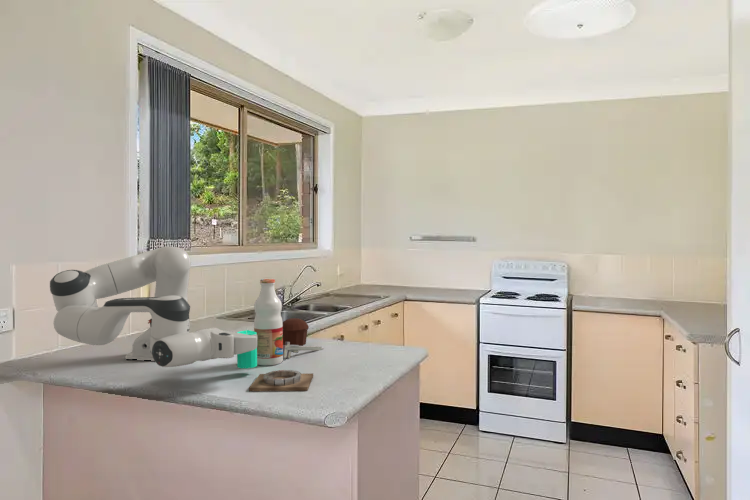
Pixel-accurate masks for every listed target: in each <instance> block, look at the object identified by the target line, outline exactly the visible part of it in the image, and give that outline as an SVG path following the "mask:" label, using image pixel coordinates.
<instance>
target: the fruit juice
mask: <svg viewBox="0 0 750 500" xmlns="http://www.w3.org/2000/svg"><path fill="white" fill-rule="evenodd" d="M259 281H260V282H259V283H260V287H261V288H260V293H259V295H258V297H257V299H256V300H255V301H254V304H253V308H254V309H253V310H254V314H255V317H254V319H253V320H254V321H253V331H254V332H257V366H266V367H267V366H269V367H270V366H277V365H279V364H282V363H283V361H284V359H283V322H284V321H283V317H282V314H281V313H282V308H283V303H282V301H281V299H280V298H279V296H277V293H276V290H275V289H276V288H275V285H276V279H275V278H262V279H260V280H259Z"/></svg>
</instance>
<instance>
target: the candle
mask: <svg viewBox="0 0 750 500" xmlns="http://www.w3.org/2000/svg"><path fill="white" fill-rule="evenodd" d="M242 332H244V333H242ZM237 333H241V334H247V335H253V334H256V335H257V332H254V330H251V329H248V327H246V329H245V330H240V331H237ZM236 362H237V363H236V366H237V368H239V369H252V368H253V369H254V368H256V367H257V366H258V365H257V348H256V349H254V350H252V351H248V352H245V353H241V354H236Z"/></svg>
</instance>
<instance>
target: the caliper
mask: <svg viewBox="0 0 750 500" xmlns="http://www.w3.org/2000/svg"><path fill="white" fill-rule="evenodd" d="M289 344H290V342H285V345H283V361H285V360H290V357H291V355H292V353H295V354H298V353H299V351H300V352H302V351H305V352H306V351H310V352H311V351H315V352H316V351H322V350H324V347H322V346H318V345H317V346H314V345H313V346H312V345H311V346H310V345H309V346H308V345H307V346H306V345H305V346H304V345H303V346H299V345H289Z"/></svg>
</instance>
